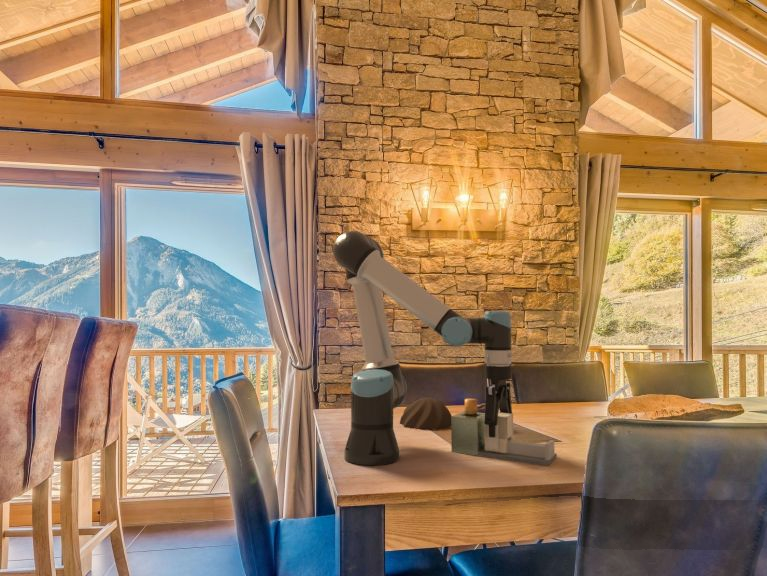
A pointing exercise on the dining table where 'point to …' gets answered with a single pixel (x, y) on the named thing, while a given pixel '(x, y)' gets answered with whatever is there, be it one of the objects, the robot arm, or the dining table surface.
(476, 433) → the green square holder
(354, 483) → the dining table surface
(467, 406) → the orange rounded piece
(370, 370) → the robot arm
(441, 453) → the dining table surface
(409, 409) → the decorative dome
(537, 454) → the grey slide base
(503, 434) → the block
